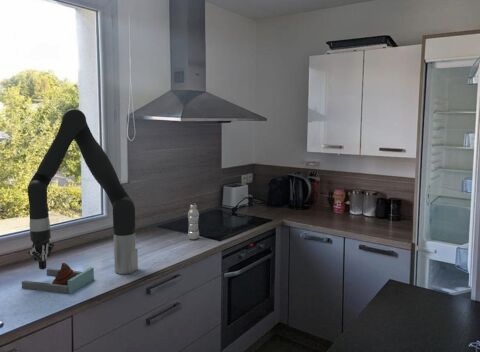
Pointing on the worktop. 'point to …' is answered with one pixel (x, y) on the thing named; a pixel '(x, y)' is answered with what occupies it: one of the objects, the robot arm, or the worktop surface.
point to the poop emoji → (64, 275)
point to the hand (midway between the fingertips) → (42, 268)
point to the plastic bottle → (193, 222)
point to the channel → (73, 285)
